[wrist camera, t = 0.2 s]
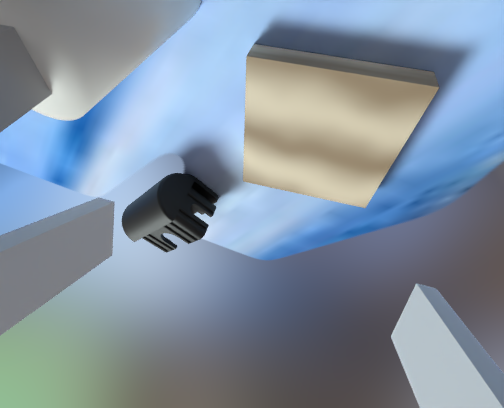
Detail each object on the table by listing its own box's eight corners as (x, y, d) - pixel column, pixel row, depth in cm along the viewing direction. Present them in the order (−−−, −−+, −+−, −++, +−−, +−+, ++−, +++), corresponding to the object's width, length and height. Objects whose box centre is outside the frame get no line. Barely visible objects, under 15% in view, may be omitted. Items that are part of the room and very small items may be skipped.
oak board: (254, 43, 19) (246, 56, 18) (434, 72, 18) (439, 87, 16) (248, 167, 28) (243, 181, 27) (365, 192, 27) (365, 208, 26)
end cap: (176, 157, 30) (147, 203, 26) (223, 195, 33) (203, 242, 29) (139, 188, 37) (111, 229, 33) (181, 217, 40) (160, 258, 36)
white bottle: (115, -82, 16) (-224, -7, 7) (197, -73, 15) (-51, 23, 6) (140, 18, 20) (-52, 151, 11) (205, 28, 19) (62, 178, 10)
